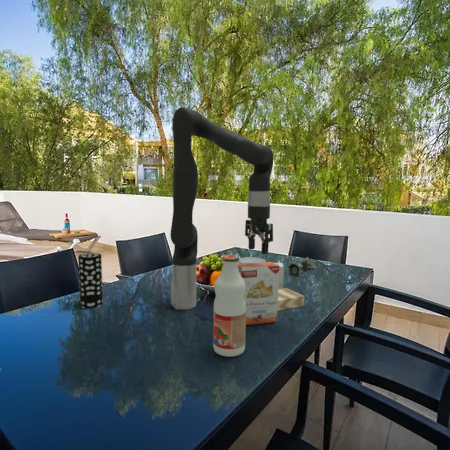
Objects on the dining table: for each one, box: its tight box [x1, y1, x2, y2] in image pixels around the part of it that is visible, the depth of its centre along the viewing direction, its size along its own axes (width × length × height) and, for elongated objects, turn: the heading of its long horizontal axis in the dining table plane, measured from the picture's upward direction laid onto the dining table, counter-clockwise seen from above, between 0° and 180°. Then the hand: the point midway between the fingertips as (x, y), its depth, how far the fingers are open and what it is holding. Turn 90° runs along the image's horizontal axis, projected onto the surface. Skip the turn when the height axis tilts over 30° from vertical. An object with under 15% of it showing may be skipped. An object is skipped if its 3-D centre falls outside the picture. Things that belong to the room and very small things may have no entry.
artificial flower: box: [288, 256, 316, 277], centre depth 188 cm, size 9×22×10 cm, turn 139°
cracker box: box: [238, 261, 279, 326], centre depth 119 cm, size 14×6×21 cm, turn 105°
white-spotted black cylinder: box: [77, 252, 104, 310], centre depth 133 cm, size 8×8×20 cm
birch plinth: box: [277, 287, 305, 312], centre depth 137 cm, size 17×12×4 cm
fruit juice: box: [212, 254, 247, 357], centre depth 98 cm, size 9×9×28 cm
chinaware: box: [239, 256, 267, 263], centre depth 181 cm, size 15×15×8 cm
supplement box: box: [274, 262, 285, 289], centre depth 153 cm, size 7×7×13 cm
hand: (258, 251), depth 117 cm, fingers open, 8 cm apart
